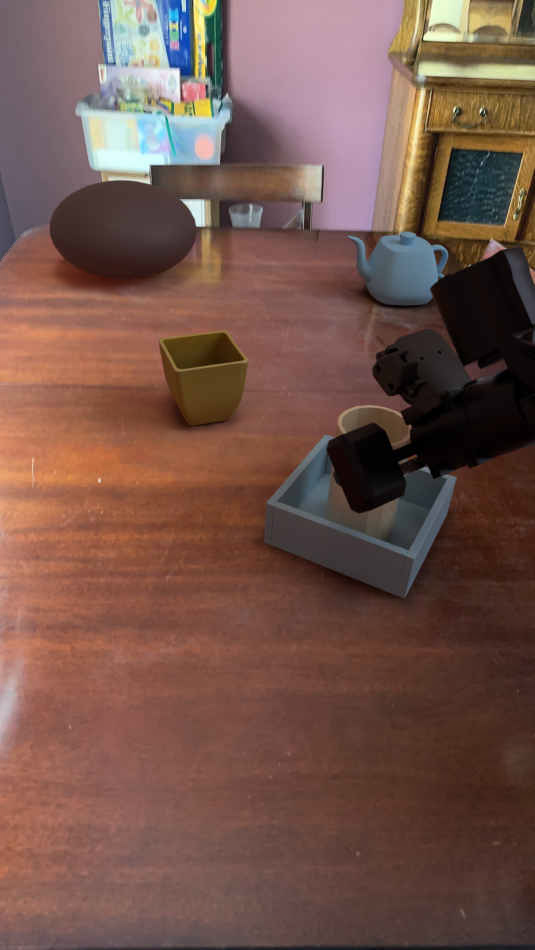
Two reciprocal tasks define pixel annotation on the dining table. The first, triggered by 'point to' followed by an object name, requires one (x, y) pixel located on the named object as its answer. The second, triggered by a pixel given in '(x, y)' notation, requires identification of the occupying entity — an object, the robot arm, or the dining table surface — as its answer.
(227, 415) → the flower pot
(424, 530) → the tub
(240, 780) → the dining table surface
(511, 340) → the robot arm
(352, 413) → the tumbler
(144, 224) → the smooth stone
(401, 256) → the teapot
